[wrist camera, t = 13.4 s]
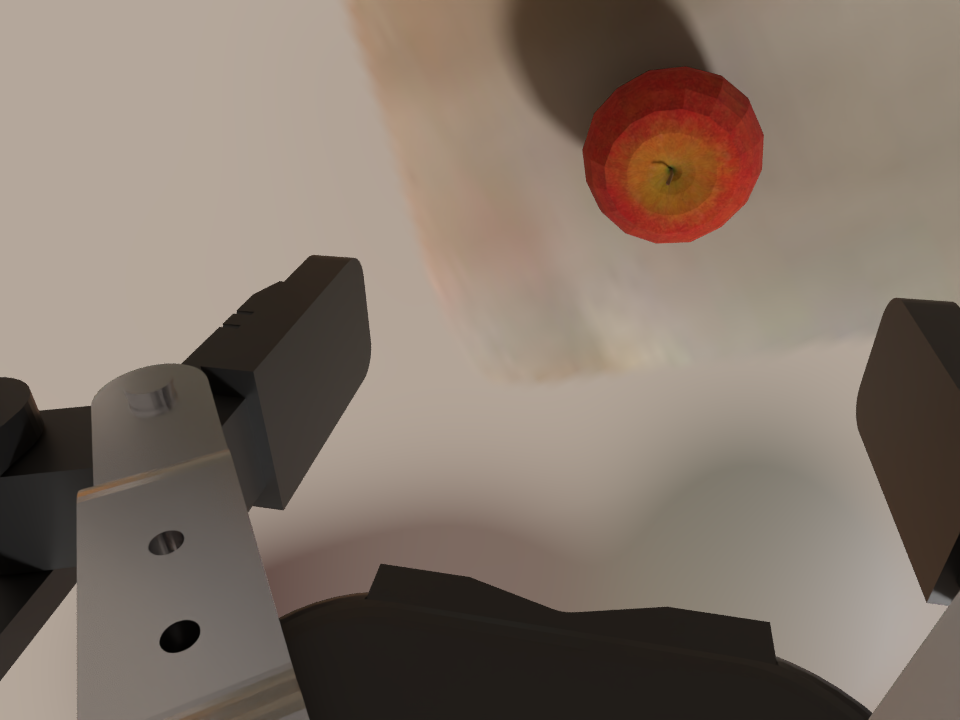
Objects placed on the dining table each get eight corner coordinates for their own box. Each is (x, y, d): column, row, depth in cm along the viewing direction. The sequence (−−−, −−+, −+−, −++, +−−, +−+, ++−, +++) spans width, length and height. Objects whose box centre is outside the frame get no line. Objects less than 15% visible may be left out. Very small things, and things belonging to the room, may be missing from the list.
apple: (711, 224, 38) (723, 288, 32) (571, 181, 39) (555, 235, 32) (778, 78, 34) (808, 117, 28) (620, 30, 34) (613, 58, 28)
